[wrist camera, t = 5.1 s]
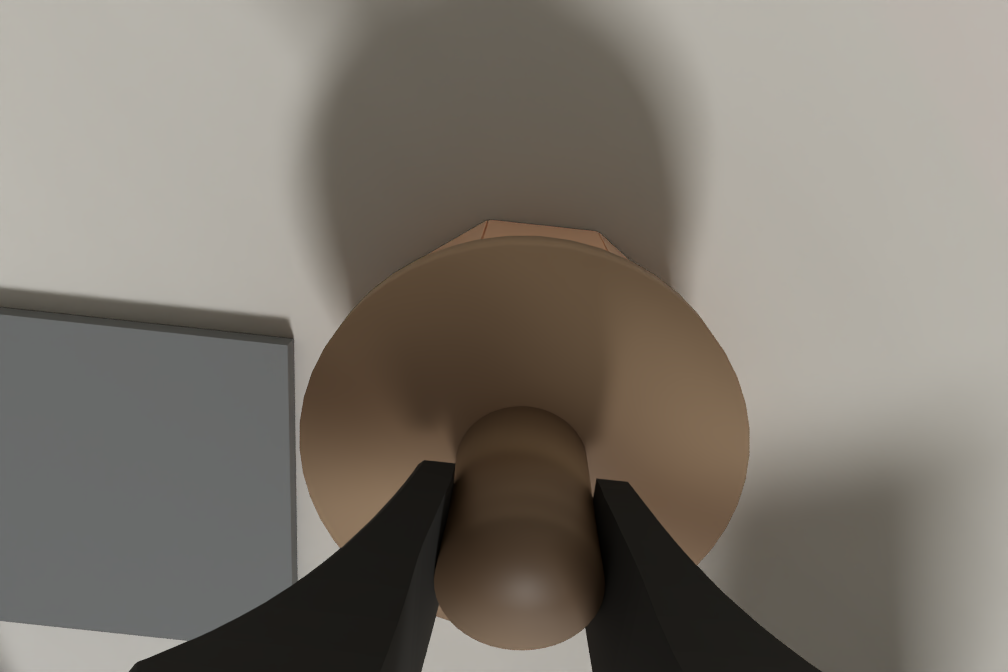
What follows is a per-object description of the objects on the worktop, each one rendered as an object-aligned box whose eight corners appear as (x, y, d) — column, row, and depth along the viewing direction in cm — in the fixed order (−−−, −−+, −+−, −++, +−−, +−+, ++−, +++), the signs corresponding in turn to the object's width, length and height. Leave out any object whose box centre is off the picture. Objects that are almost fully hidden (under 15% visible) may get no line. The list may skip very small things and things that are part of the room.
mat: (298, 639, 22) (293, 651, 22) (-26, 605, 22) (-38, 616, 22) (293, 338, 18) (287, 345, 18) (-101, 296, 18) (-118, 301, 18)
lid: (667, 636, 17) (712, 818, 13) (296, 570, 16) (218, 735, 12) (803, 286, 13) (926, 383, 9) (331, 191, 13) (238, 248, 9)
